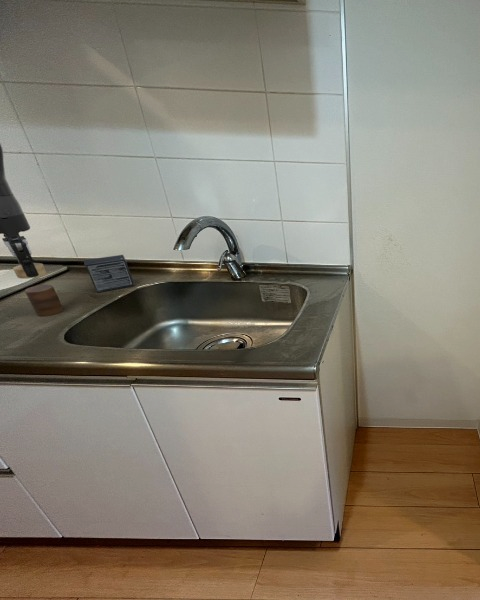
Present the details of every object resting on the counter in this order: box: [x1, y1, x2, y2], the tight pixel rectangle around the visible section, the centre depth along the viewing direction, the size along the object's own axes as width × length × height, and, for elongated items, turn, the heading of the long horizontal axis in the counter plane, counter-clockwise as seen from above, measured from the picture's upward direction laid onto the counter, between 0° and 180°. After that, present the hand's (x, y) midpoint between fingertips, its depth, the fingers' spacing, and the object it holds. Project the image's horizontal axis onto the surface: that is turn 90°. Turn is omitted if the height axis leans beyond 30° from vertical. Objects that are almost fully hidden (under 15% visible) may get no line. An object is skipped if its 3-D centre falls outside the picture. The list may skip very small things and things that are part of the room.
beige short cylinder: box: [12, 262, 47, 279], centre depth 87 cm, size 6×6×3 cm
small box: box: [83, 254, 136, 293], centre depth 108 cm, size 11×6×10 cm, turn 135°
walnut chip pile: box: [24, 284, 64, 317], centre depth 91 cm, size 6×6×8 cm
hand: (31, 273), depth 87 cm, fingers closed on beige short cylinder, 5 cm apart
